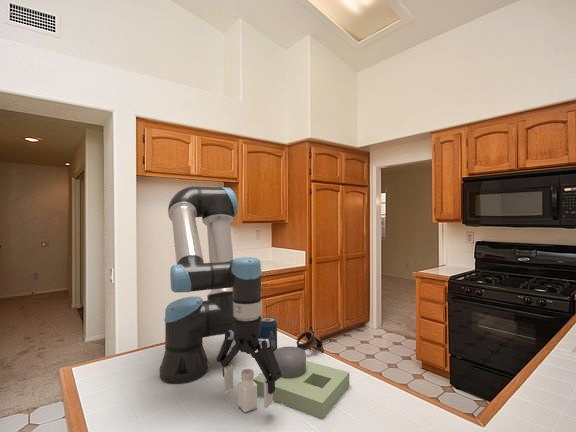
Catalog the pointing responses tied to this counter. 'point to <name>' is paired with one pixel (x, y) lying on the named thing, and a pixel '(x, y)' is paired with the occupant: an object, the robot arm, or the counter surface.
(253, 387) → the pepper shaker
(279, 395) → the green knob base
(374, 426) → the counter surface
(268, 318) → the soda can
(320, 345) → the dark brown open frame
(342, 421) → the counter surface
